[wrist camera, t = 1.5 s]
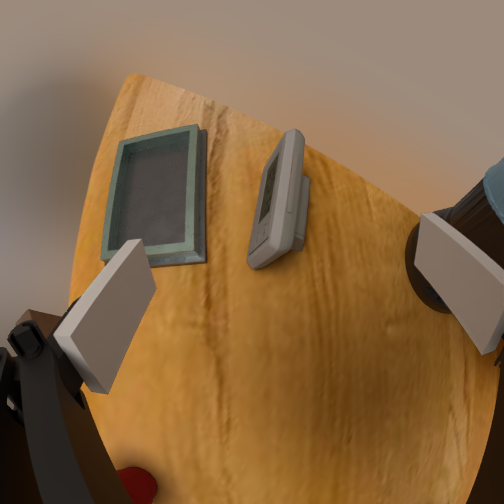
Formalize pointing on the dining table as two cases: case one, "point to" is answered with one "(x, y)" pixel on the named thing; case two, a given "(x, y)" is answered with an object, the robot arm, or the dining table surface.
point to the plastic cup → (138, 484)
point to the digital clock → (280, 203)
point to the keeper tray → (159, 197)
